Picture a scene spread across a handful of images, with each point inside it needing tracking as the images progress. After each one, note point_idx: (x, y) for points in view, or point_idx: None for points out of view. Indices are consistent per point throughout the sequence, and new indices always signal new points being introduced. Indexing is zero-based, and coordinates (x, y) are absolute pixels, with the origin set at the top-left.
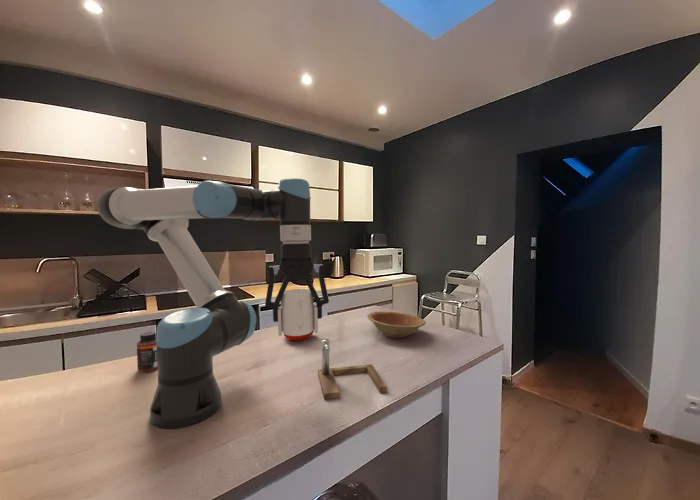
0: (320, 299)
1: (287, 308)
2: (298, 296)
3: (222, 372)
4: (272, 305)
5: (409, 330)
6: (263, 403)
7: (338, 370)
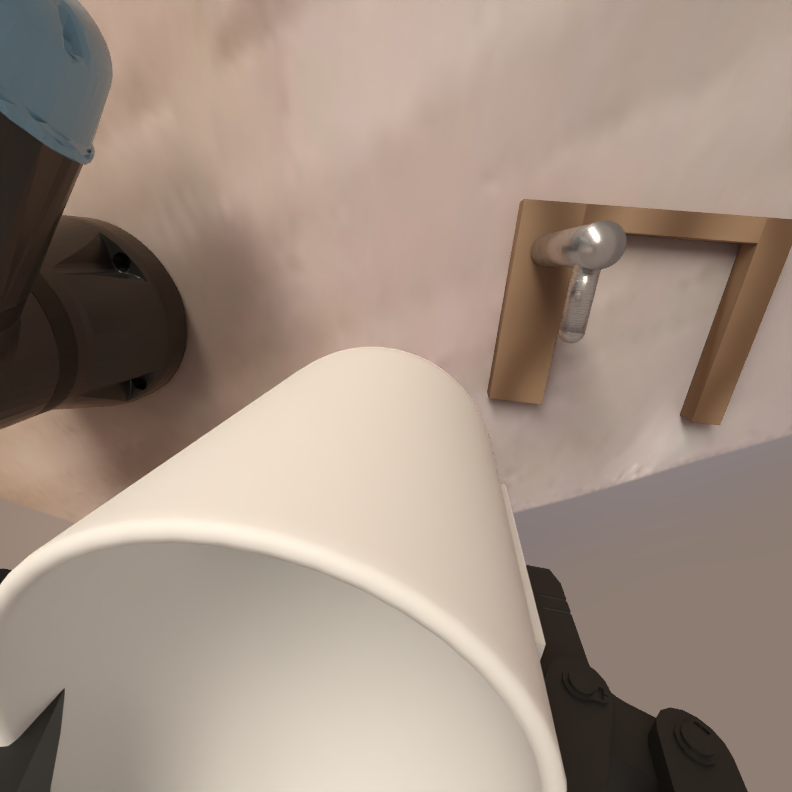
0: (609, 758)
1: (223, 670)
2: None
3: (122, 47)
4: None
5: None
6: (306, 353)
7: None
